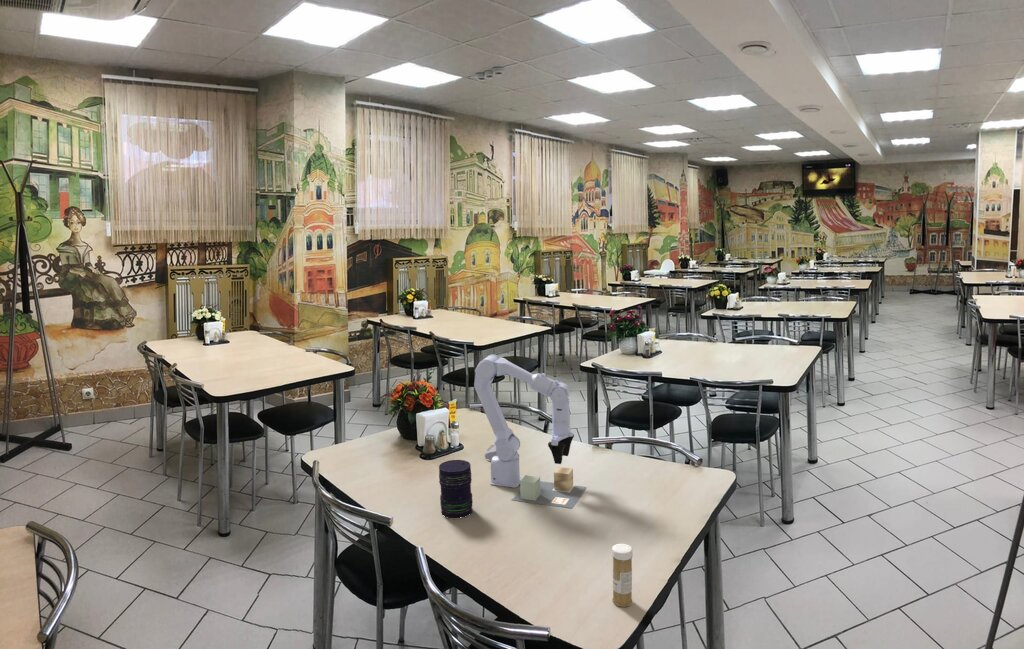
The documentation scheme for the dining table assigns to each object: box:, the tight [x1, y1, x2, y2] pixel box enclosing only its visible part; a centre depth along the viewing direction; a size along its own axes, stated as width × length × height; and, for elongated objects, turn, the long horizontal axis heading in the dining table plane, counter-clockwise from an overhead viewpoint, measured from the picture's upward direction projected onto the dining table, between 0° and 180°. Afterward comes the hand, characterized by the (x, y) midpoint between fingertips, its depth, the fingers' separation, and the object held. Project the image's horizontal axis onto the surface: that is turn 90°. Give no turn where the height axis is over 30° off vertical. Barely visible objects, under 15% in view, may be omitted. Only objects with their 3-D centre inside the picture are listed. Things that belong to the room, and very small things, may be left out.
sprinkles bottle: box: [611, 543, 633, 608], centre depth 146 cm, size 5×5×14 cm
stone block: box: [484, 443, 497, 460], centre depth 244 cm, size 12×5×10 cm
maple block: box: [553, 466, 574, 492], centre depth 212 cm, size 5×5×6 cm
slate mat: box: [511, 480, 587, 509], centre depth 208 cm, size 20×17×1 cm
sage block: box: [519, 475, 541, 501], centre depth 206 cm, size 5×5×6 cm
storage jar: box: [438, 459, 474, 519], centre depth 196 cm, size 10×10×15 cm
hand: (561, 459), depth 213 cm, fingers open, 7 cm apart
